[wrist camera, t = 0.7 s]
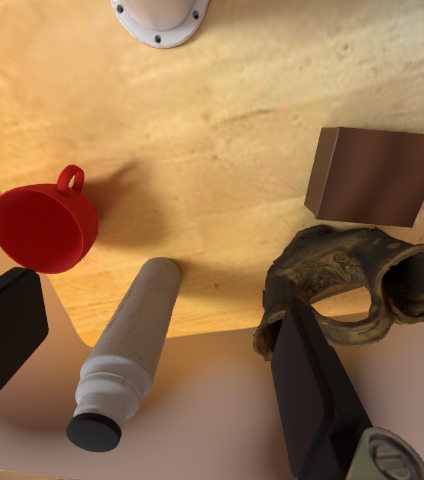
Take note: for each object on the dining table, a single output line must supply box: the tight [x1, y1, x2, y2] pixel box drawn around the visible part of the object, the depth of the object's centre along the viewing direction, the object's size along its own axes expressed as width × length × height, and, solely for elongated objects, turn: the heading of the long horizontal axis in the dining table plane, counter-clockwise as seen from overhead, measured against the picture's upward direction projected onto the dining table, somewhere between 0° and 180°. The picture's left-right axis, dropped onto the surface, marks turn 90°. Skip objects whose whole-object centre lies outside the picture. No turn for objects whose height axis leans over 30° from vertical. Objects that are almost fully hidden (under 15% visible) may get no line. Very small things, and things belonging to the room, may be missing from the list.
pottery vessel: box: [253, 225, 424, 361], centre depth 36 cm, size 25×11×20 cm, turn 121°
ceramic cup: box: [0, 165, 99, 274], centre depth 39 cm, size 13×17×10 cm
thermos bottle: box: [66, 258, 182, 452], centre depth 36 cm, size 8×8×28 cm
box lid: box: [315, 127, 424, 228], centre depth 33 cm, size 13×12×1 cm
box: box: [304, 128, 337, 214], centre depth 36 cm, size 13×12×7 cm
